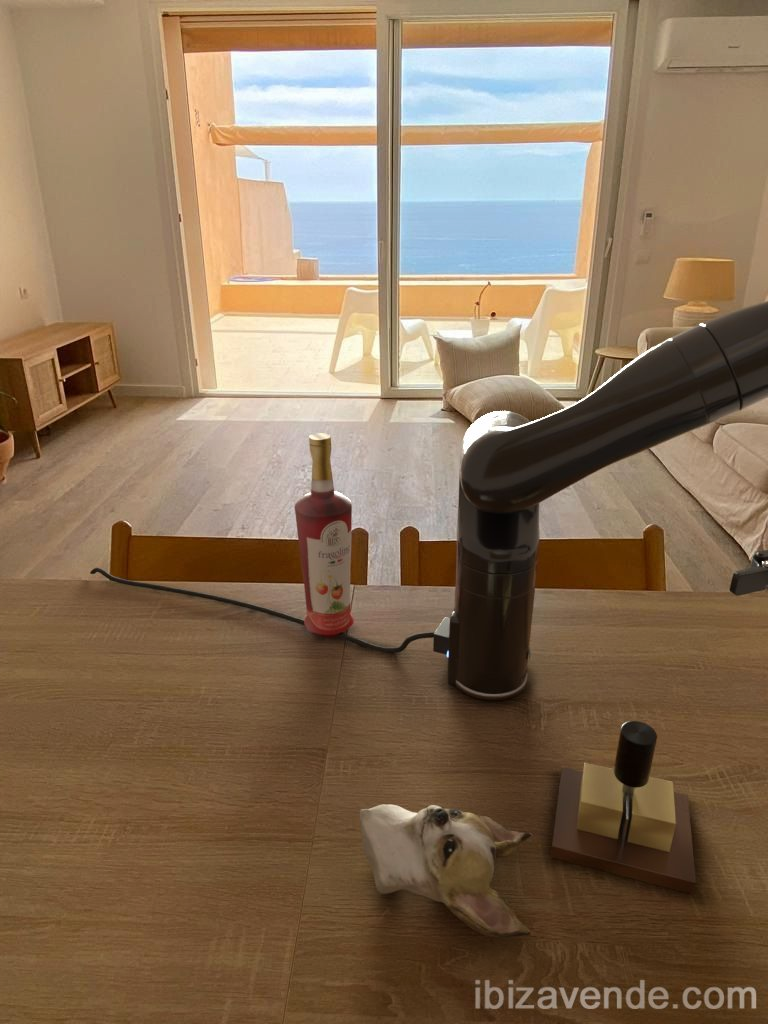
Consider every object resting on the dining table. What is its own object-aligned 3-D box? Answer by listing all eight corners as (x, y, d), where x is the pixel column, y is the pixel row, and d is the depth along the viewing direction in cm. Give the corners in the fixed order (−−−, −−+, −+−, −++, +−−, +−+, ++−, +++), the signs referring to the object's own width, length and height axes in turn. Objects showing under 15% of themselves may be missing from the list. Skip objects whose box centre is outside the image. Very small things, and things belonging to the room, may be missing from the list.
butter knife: (604, 842, 63) (620, 754, 58) (607, 789, 68) (621, 705, 64) (639, 851, 62) (658, 762, 57) (639, 797, 67) (656, 711, 63)
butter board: (550, 857, 63) (555, 817, 61) (560, 777, 72) (565, 740, 69) (692, 894, 60) (703, 853, 57) (685, 805, 68) (694, 767, 66)
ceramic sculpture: (373, 751, 63) (541, 782, 61) (369, 818, 67) (527, 850, 64) (344, 850, 54) (541, 893, 51) (342, 922, 57) (525, 965, 55)
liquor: (316, 649, 92) (304, 450, 80) (294, 623, 98) (280, 433, 86) (365, 633, 95) (360, 439, 84) (341, 608, 101) (333, 423, 89)
